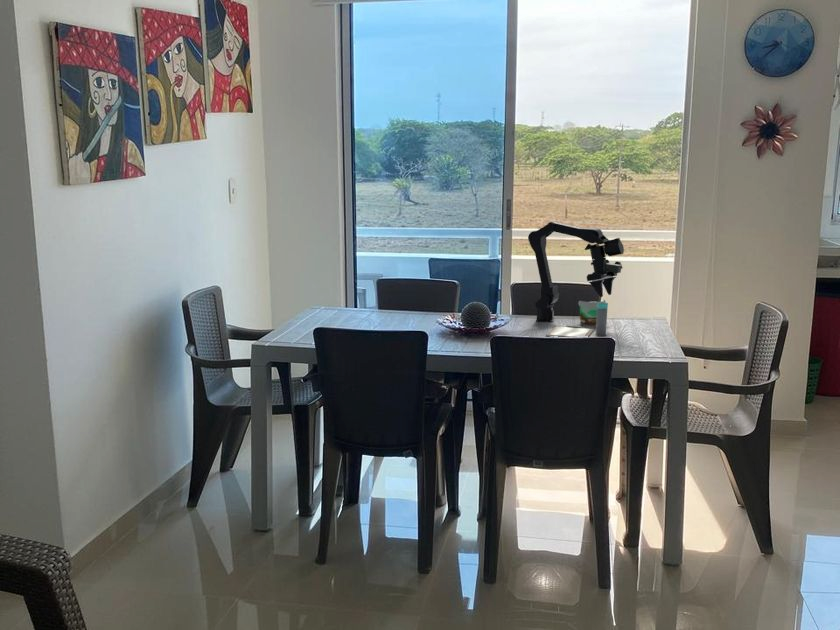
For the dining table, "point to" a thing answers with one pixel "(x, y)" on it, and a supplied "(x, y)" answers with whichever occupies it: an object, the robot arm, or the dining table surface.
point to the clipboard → (570, 331)
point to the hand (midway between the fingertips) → (605, 295)
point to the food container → (588, 312)
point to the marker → (601, 318)
